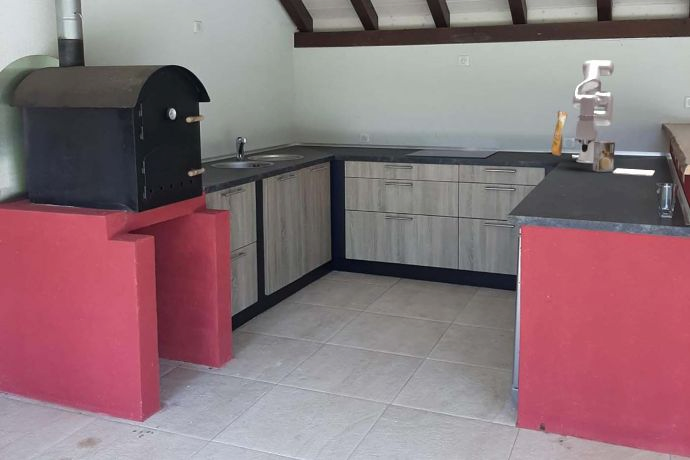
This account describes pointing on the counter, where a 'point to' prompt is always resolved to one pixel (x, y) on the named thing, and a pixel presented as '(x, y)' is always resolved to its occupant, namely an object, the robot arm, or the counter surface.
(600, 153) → the coffee box
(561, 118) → the pancake mix bag
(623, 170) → the mat
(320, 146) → the counter surface
